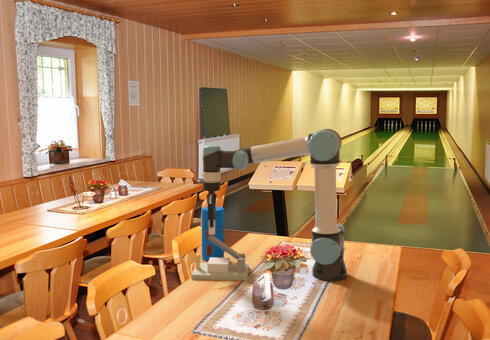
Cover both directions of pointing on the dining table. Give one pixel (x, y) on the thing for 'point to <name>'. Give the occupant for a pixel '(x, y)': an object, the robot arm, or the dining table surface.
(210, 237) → the clamp lever
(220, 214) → the thermos
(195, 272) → the clamp board
